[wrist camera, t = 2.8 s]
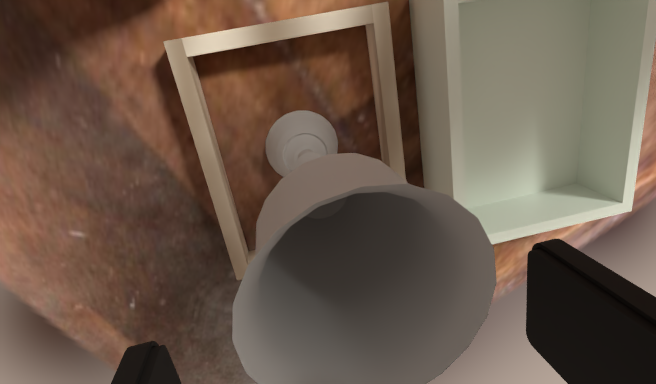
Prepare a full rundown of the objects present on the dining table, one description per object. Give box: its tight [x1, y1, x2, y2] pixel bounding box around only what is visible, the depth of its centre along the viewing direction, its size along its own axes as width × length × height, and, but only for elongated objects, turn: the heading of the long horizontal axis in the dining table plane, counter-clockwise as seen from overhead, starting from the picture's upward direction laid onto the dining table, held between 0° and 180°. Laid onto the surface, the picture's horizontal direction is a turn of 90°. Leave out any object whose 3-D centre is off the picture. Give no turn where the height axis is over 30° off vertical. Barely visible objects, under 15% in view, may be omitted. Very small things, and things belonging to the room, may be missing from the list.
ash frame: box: [163, 2, 406, 280], centre depth 26 cm, size 13×16×2 cm
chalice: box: [232, 110, 496, 384], centre depth 18 cm, size 7×7×18 cm
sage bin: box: [409, 0, 656, 244], centre depth 26 cm, size 13×16×5 cm
